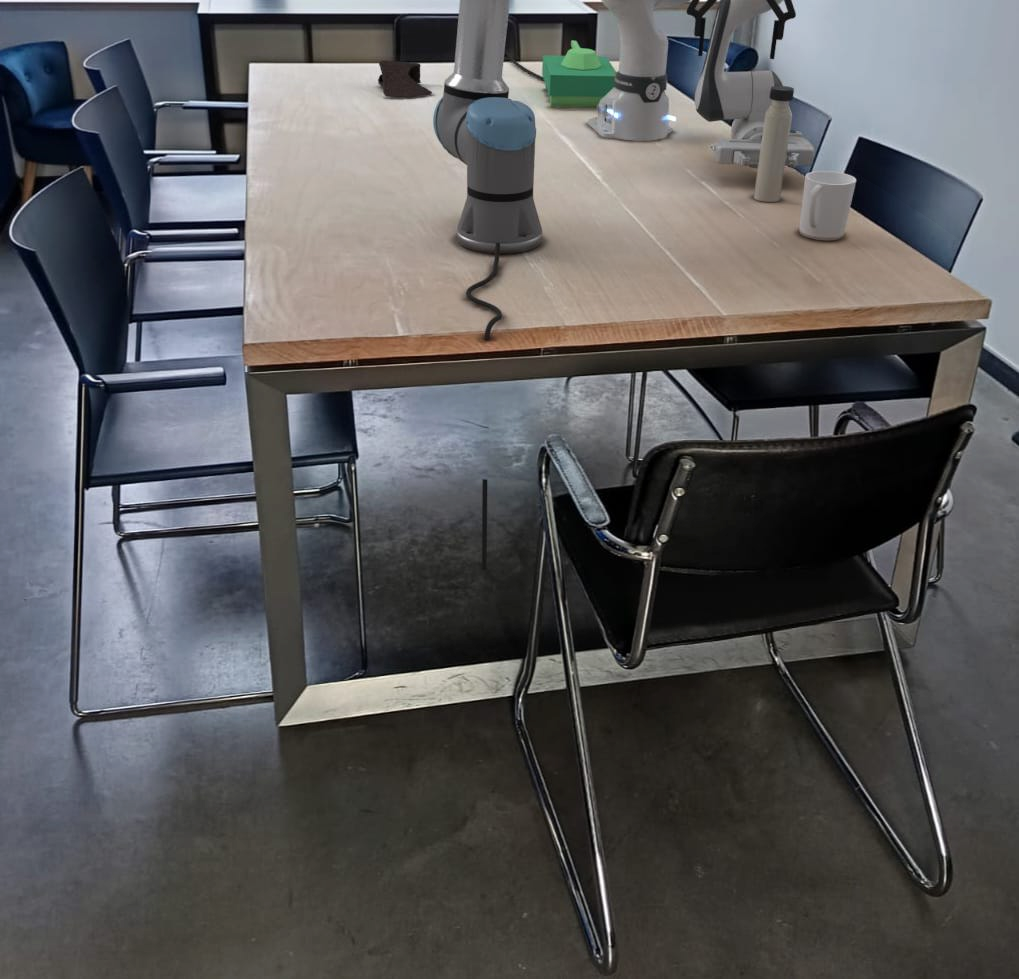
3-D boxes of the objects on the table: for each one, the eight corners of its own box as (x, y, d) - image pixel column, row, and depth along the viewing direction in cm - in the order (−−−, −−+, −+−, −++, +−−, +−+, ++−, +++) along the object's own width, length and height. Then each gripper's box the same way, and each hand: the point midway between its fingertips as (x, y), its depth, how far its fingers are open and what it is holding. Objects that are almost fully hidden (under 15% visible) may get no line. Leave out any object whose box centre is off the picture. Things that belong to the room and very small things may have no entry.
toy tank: (603, 37, 308) (620, 60, 279) (600, 82, 315) (616, 110, 285) (541, 36, 308) (551, 59, 278) (539, 81, 314) (548, 109, 284)
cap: (772, 101, 209) (774, 90, 208) (767, 96, 213) (768, 85, 212) (795, 101, 209) (796, 90, 208) (789, 96, 213) (790, 85, 212)
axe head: (443, 87, 294) (392, 77, 287) (436, 115, 299) (385, 106, 292) (421, 62, 307) (371, 52, 300) (414, 89, 311) (365, 80, 304)
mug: (809, 222, 208) (818, 168, 202) (854, 233, 203) (864, 177, 197) (782, 236, 200) (791, 180, 195) (827, 247, 195) (838, 190, 190)
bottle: (757, 202, 219) (772, 93, 208) (751, 194, 223) (765, 87, 212) (782, 202, 219) (799, 93, 208) (776, 194, 224) (791, 87, 213)
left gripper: (679, -67, 198) (669, 57, 209) (821, -64, 194) (803, 62, 205) (681, -71, 204) (671, 50, 215) (818, -68, 200) (801, 55, 212)
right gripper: (711, 129, 231) (719, 145, 220) (808, 131, 231) (821, 148, 219) (707, 159, 235) (715, 177, 223) (803, 161, 234) (816, 180, 222)
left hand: (735, 56), depth 210 cm, fingers open, 13 cm apart
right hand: (769, 162), depth 221 cm, fingers open, 8 cm apart
